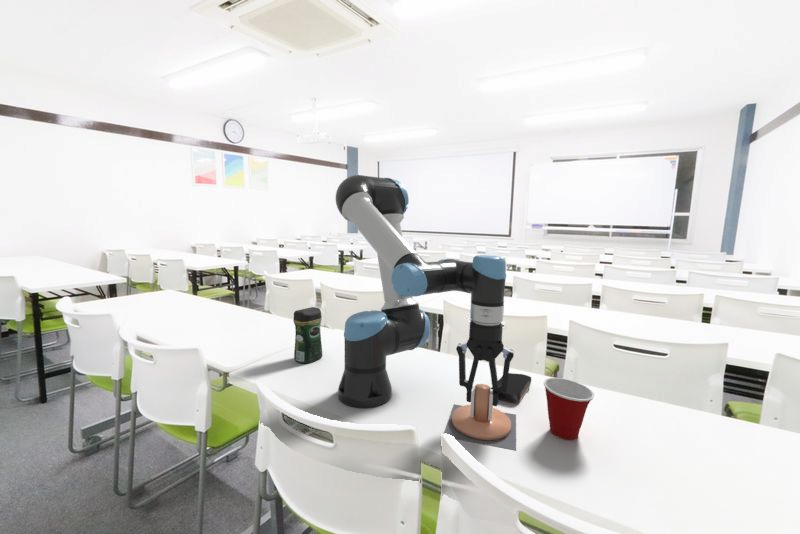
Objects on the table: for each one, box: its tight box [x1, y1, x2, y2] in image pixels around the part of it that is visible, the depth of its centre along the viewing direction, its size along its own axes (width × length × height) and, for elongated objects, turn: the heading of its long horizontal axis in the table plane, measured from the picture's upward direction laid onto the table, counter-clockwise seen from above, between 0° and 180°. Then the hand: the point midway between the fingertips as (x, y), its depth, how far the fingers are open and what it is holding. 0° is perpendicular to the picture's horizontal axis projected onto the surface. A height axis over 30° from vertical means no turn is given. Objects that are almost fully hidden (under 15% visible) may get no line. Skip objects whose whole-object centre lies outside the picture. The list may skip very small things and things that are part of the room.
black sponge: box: [490, 372, 532, 404], centre depth 108 cm, size 16×8×4 cm, turn 147°
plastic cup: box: [543, 377, 595, 441], centre depth 85 cm, size 11×11×12 cm
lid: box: [452, 383, 511, 440], centre depth 88 cm, size 14×14×9 cm
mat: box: [443, 404, 517, 452], centre depth 89 cm, size 16×16×1 cm
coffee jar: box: [292, 306, 323, 364], centre depth 130 cm, size 10×8×19 cm
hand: (481, 415), depth 89 cm, fingers closed on lid, 3 cm apart
